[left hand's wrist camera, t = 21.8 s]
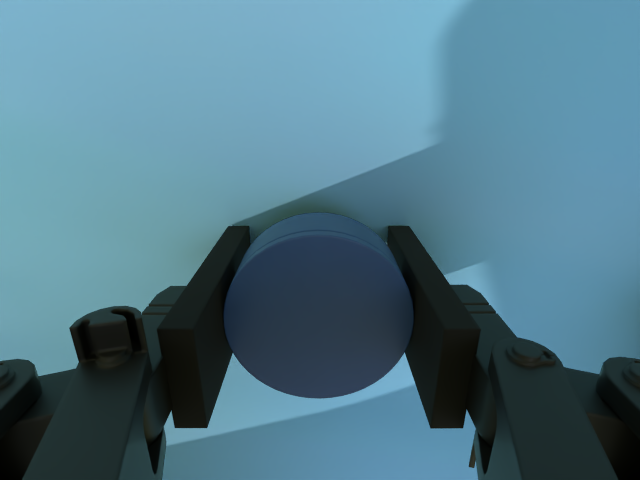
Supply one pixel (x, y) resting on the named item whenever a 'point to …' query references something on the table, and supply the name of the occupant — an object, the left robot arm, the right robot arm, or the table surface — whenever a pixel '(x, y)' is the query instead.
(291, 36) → the table surface
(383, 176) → the table surface
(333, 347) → the lid
